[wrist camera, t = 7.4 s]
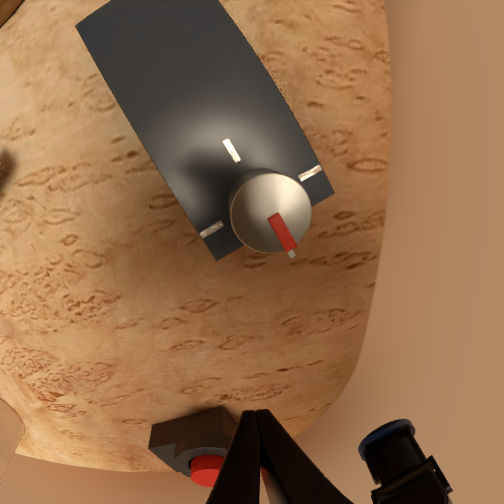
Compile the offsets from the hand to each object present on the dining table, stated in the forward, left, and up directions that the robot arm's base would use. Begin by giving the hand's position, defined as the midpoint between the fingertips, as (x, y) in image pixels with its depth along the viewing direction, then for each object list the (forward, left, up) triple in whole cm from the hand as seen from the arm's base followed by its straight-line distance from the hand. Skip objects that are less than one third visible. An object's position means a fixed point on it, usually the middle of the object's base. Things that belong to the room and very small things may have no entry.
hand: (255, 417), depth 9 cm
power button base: (+11, +14, -13) cm, 22 cm away
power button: (+9, +14, -9) cm, 19 cm away
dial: (-3, -4, -10) cm, 11 cm away
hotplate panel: (-3, -10, -13) cm, 17 cm away
